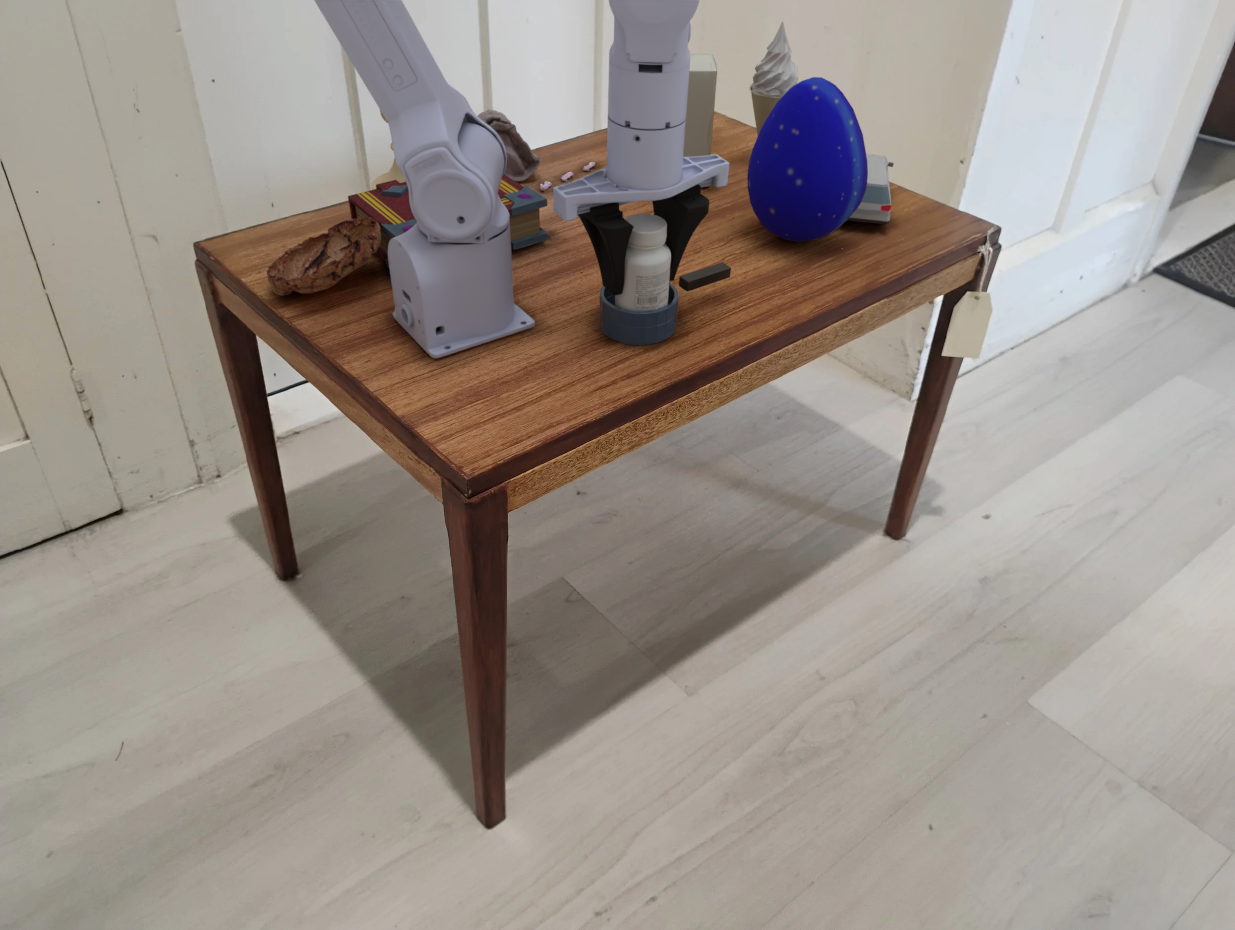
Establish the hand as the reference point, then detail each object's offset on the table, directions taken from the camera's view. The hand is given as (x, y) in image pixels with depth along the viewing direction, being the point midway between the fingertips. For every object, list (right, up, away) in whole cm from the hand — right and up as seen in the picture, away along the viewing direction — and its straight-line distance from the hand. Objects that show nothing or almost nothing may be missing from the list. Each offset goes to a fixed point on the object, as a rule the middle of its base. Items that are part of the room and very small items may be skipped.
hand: (639, 282), depth 79 cm
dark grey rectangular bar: (+6, +1, +4) cm, 7 cm away
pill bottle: (0, -2, +1) cm, 2 cm away
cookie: (-28, +4, +4) cm, 28 cm away
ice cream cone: (+15, +19, +30) cm, 39 cm away
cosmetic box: (+6, +17, +27) cm, 32 cm away
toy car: (+23, +12, +22) cm, 34 cm away
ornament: (+16, +8, +16) cm, 24 cm away
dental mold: (-14, +18, +22) cm, 31 cm away
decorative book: (-17, +7, +13) cm, 23 cm away
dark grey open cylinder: (0, -3, +3) cm, 4 cm away
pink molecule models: (-9, +15, +24) cm, 29 cm away
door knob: (-21, +15, +15) cm, 30 cm away
